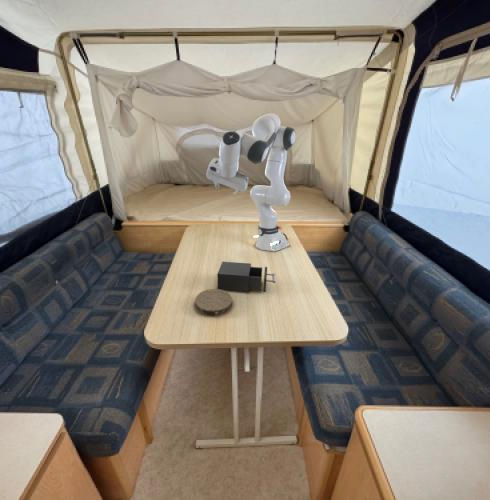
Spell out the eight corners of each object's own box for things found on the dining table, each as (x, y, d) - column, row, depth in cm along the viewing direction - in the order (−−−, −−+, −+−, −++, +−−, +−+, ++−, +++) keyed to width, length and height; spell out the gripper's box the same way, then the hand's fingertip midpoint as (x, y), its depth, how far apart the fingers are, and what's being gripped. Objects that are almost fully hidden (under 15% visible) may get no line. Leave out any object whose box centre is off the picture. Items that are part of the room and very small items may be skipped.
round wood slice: (235, 296, 122) (235, 291, 121) (226, 319, 108) (226, 313, 107) (202, 292, 125) (202, 286, 124) (189, 313, 111) (189, 307, 110)
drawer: (274, 280, 134) (275, 267, 131) (274, 292, 124) (275, 279, 121) (240, 277, 136) (240, 264, 133) (237, 289, 126) (237, 276, 123)
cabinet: (250, 279, 137) (251, 263, 133) (248, 292, 125) (248, 276, 121) (222, 276, 138) (222, 261, 134) (217, 290, 127) (217, 273, 123)
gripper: (251, 171, 120) (247, 193, 132) (210, 156, 123) (210, 179, 134) (246, 180, 117) (242, 202, 128) (204, 164, 119) (204, 187, 131)
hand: (225, 190), depth 131 cm, fingers open, 8 cm apart
